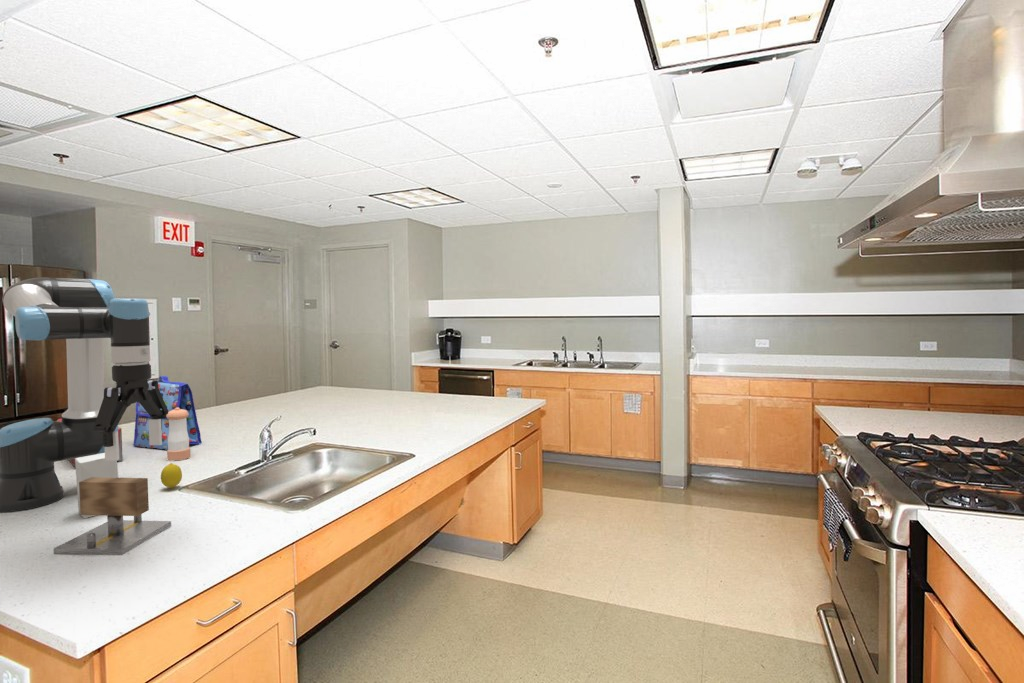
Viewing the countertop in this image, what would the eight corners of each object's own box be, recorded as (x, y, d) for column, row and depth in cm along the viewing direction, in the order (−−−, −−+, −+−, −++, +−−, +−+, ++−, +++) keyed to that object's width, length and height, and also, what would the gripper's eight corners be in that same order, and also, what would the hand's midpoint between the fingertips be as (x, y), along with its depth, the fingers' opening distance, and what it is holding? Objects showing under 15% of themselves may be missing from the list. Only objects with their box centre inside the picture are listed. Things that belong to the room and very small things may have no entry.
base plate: (53, 553, 117) (52, 526, 117) (110, 524, 133) (109, 501, 133) (122, 555, 117) (121, 528, 116) (171, 525, 133) (170, 502, 132)
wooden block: (80, 515, 123) (79, 482, 122) (93, 509, 127) (91, 477, 126) (137, 516, 122) (136, 483, 122) (148, 510, 126) (147, 478, 126)
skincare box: (114, 504, 147) (112, 450, 146) (121, 510, 143) (119, 455, 142) (76, 513, 140) (74, 457, 139) (82, 519, 136) (80, 461, 135)
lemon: (158, 492, 157) (157, 466, 156) (165, 486, 162) (164, 461, 162) (178, 490, 158) (178, 465, 158) (185, 484, 164) (184, 460, 163)
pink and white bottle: (195, 455, 196) (193, 406, 195) (180, 461, 189) (179, 409, 188) (177, 455, 197) (175, 405, 196) (162, 460, 190) (160, 409, 188)
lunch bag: (132, 447, 208) (129, 376, 206) (163, 439, 221) (161, 372, 219) (173, 451, 202) (170, 378, 200) (203, 443, 215) (201, 374, 213)
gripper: (103, 369, 110) (107, 467, 111) (182, 359, 135) (185, 439, 136) (69, 369, 110) (74, 467, 111) (154, 359, 135) (157, 439, 136)
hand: (135, 452), depth 123 cm, fingers open, 13 cm apart
